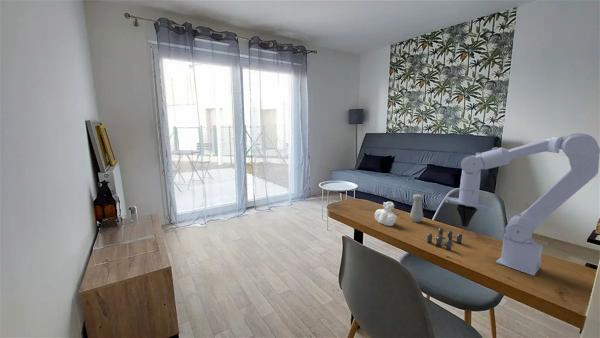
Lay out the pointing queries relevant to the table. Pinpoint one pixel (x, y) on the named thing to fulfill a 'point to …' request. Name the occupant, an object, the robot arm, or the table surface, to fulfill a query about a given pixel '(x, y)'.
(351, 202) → the table surface
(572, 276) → the table surface
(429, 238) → the black spacers
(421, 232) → the table surface
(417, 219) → the salt shaker
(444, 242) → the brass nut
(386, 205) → the duck figurine
